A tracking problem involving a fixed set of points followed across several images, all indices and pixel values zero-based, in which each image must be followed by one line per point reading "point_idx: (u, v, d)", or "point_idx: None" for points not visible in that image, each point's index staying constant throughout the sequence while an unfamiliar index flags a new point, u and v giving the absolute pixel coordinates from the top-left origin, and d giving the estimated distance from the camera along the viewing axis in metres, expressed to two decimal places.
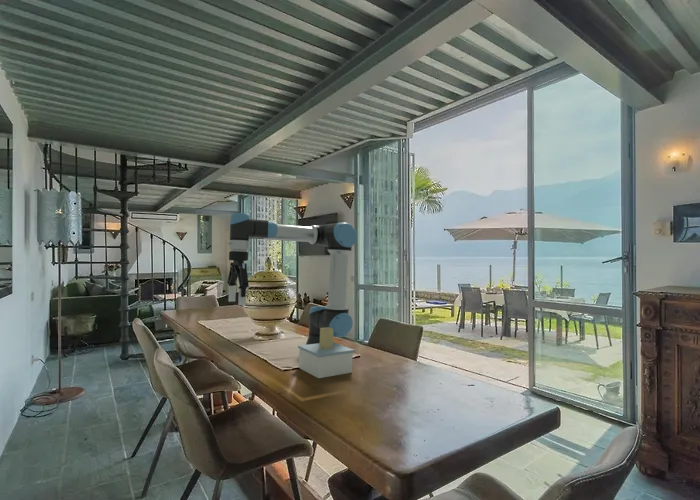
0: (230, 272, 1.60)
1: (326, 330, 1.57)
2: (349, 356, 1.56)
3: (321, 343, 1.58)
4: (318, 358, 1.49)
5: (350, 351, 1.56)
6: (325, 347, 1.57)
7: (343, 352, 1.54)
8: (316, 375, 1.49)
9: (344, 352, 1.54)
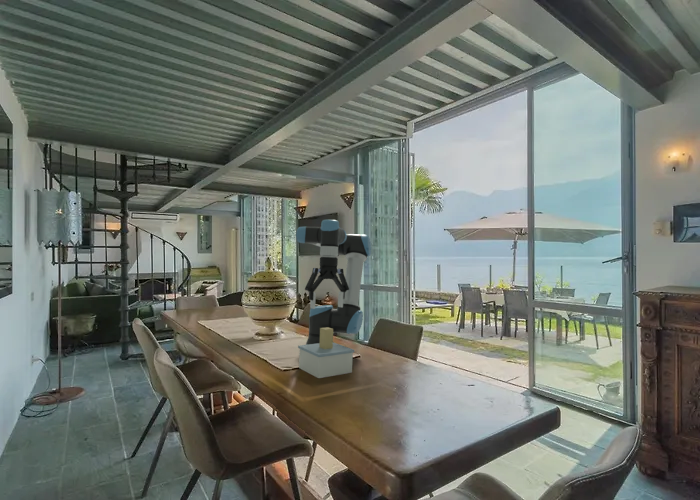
0: None
1: (326, 330, 1.57)
2: (349, 356, 1.56)
3: (321, 343, 1.58)
4: (318, 358, 1.49)
5: (350, 351, 1.56)
6: (325, 347, 1.57)
7: (343, 352, 1.54)
8: (316, 375, 1.49)
9: (344, 352, 1.54)
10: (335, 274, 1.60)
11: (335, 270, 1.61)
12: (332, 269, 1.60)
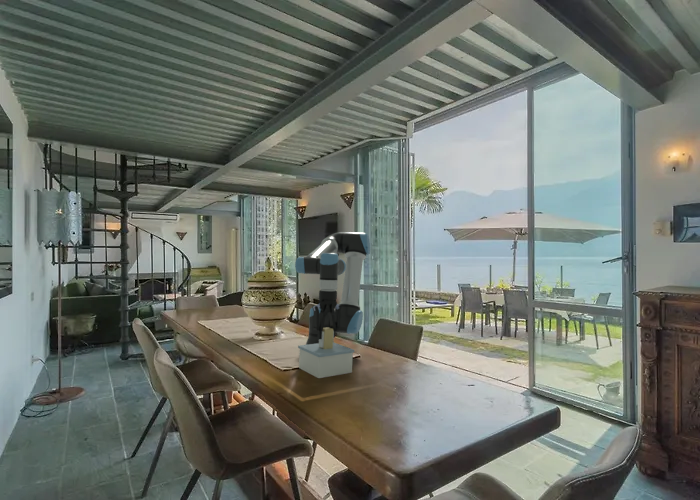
0: (335, 314, 1.63)
1: (326, 330, 1.57)
2: (349, 356, 1.56)
3: None
4: (318, 358, 1.49)
5: (350, 351, 1.56)
6: (325, 347, 1.57)
7: (343, 352, 1.54)
8: (316, 375, 1.49)
9: (344, 352, 1.54)
10: (333, 309, 1.59)
11: (335, 303, 1.61)
12: (332, 300, 1.60)
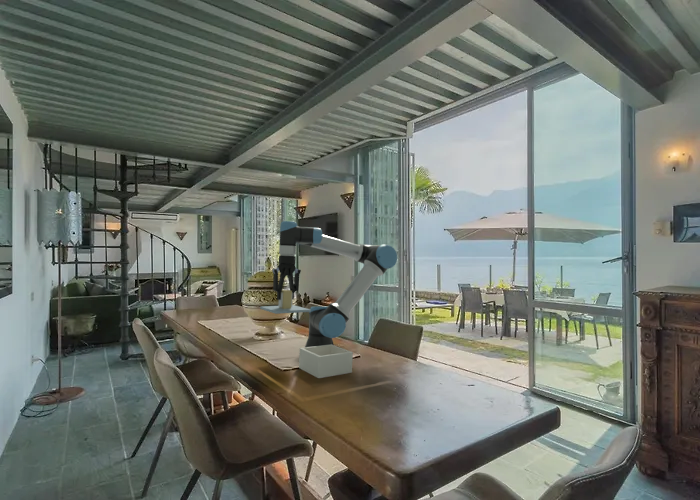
0: (294, 278, 1.78)
1: (285, 291, 1.71)
2: (349, 356, 1.56)
3: None
4: (318, 358, 1.49)
5: (306, 310, 1.71)
6: (284, 307, 1.71)
7: (299, 311, 1.68)
8: (316, 375, 1.49)
9: (300, 311, 1.69)
10: (292, 272, 1.74)
11: (293, 267, 1.75)
12: (291, 265, 1.74)
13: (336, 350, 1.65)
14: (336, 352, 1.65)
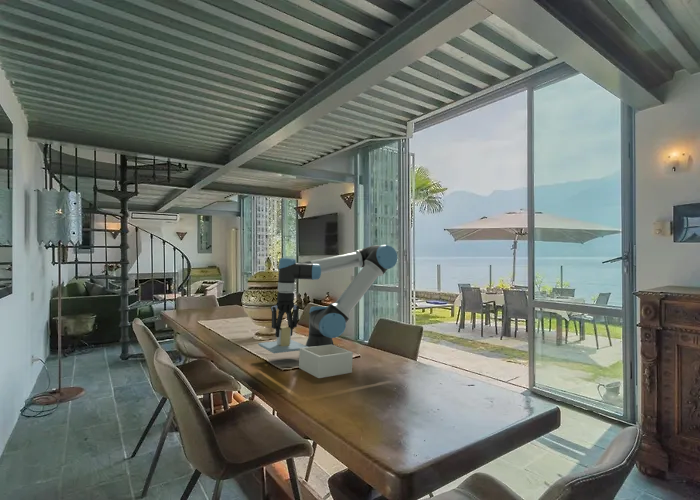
0: (293, 314, 1.77)
1: (283, 329, 1.71)
2: (349, 356, 1.56)
3: None
4: (318, 358, 1.49)
5: None
6: (282, 344, 1.71)
7: (298, 349, 1.68)
8: (316, 375, 1.49)
9: (299, 349, 1.68)
10: (290, 309, 1.73)
11: (292, 304, 1.75)
12: (290, 302, 1.74)
13: (336, 350, 1.65)
14: (336, 352, 1.65)
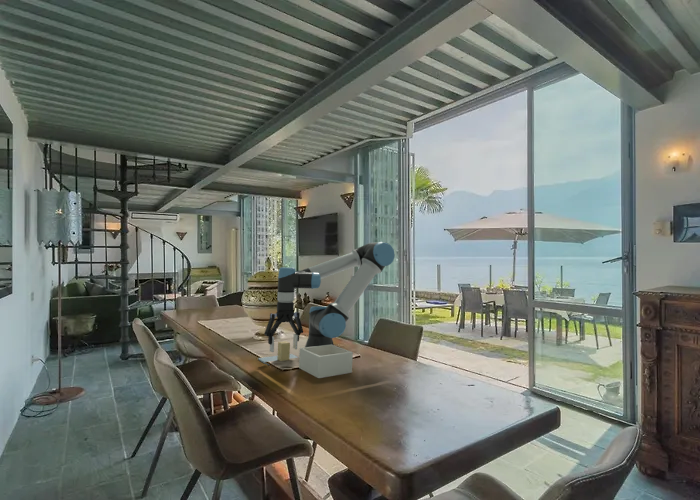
0: None
1: (283, 344, 1.71)
2: (349, 356, 1.56)
3: (279, 356, 1.72)
4: (318, 358, 1.49)
5: None
6: (282, 360, 1.71)
7: None
8: (316, 375, 1.49)
9: None
10: (291, 318, 1.74)
11: (291, 313, 1.74)
12: (289, 312, 1.74)
13: (336, 350, 1.65)
14: (336, 352, 1.65)
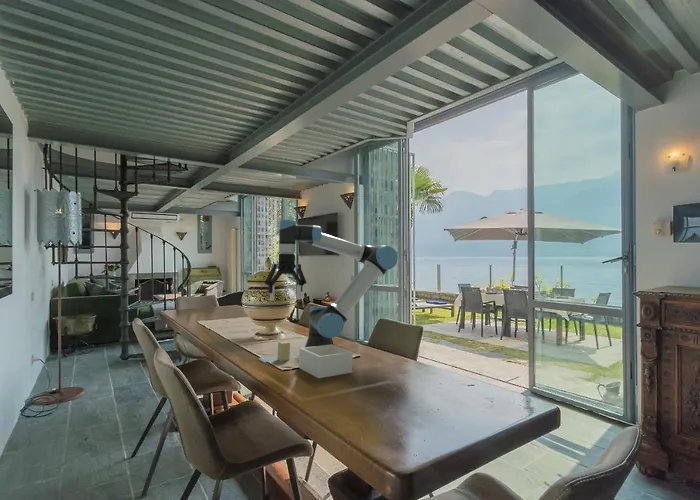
0: (298, 273, 1.80)
1: (283, 344, 1.71)
2: (349, 356, 1.56)
3: (279, 356, 1.72)
4: (318, 358, 1.49)
5: None
6: (282, 360, 1.71)
7: None
8: (316, 375, 1.49)
9: None
10: (293, 269, 1.75)
11: (293, 265, 1.76)
12: (290, 264, 1.75)
13: (336, 350, 1.65)
14: (336, 352, 1.65)
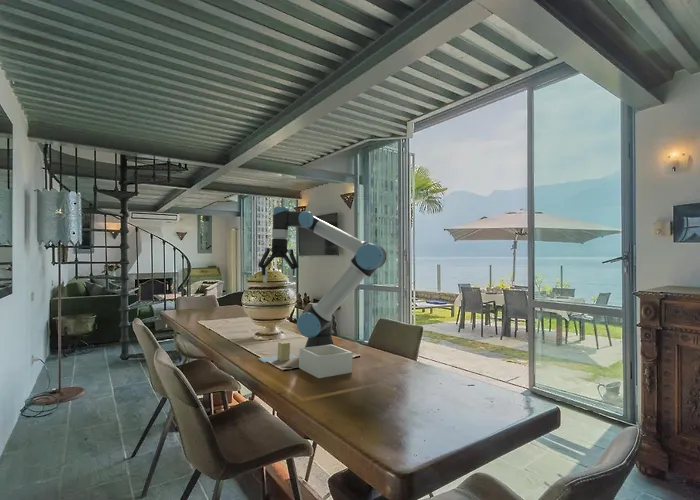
0: (290, 257, 1.91)
1: (283, 344, 1.71)
2: (349, 356, 1.56)
3: (279, 356, 1.72)
4: (318, 358, 1.49)
5: None
6: (282, 360, 1.71)
7: None
8: (316, 375, 1.49)
9: None
10: (285, 253, 1.86)
11: (285, 250, 1.87)
12: (282, 249, 1.86)
13: (336, 350, 1.65)
14: (336, 352, 1.65)
